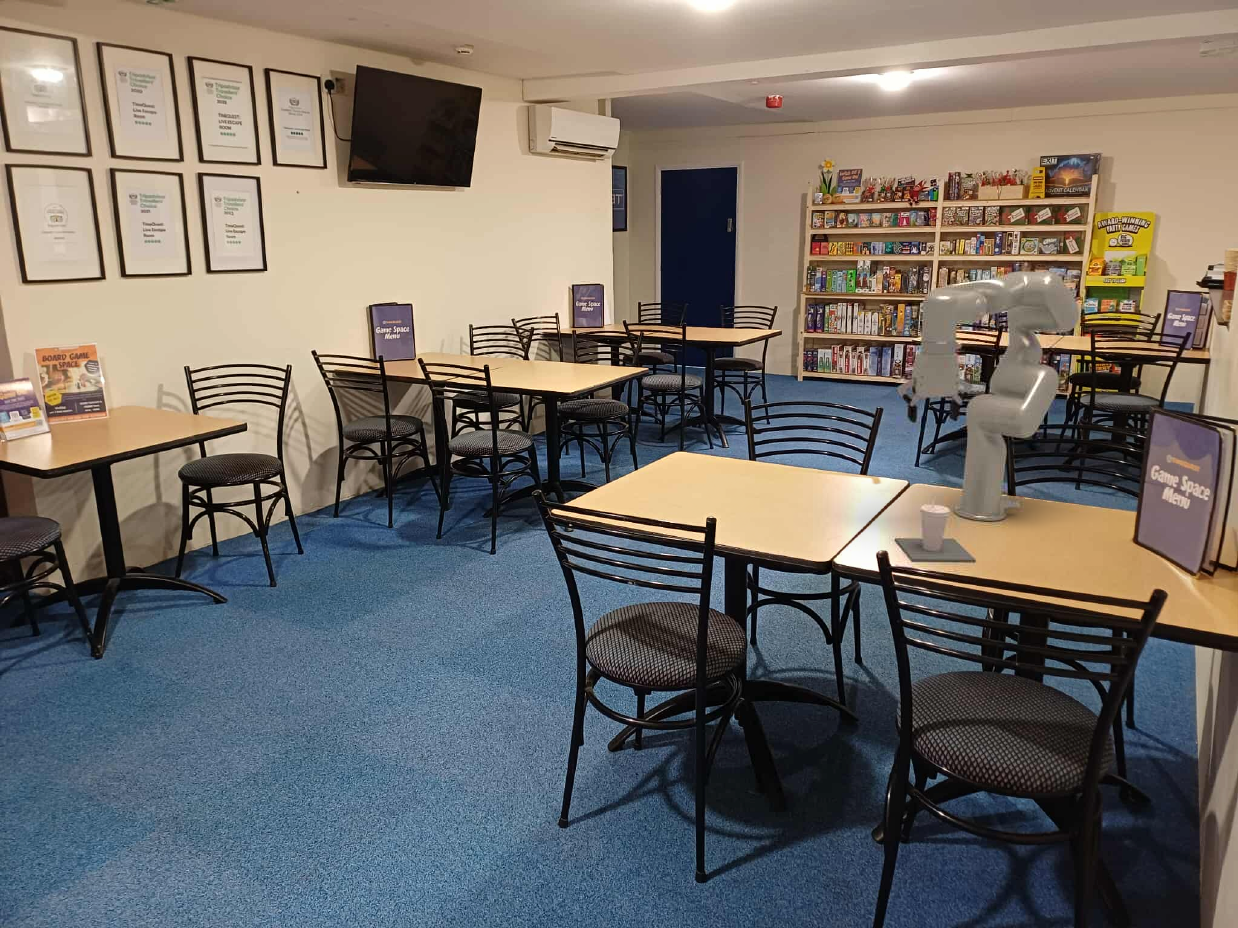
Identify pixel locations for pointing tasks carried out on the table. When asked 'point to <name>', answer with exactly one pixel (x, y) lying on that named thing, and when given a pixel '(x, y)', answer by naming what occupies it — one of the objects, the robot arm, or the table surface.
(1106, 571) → the table surface
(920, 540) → the coaster mat
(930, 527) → the white drink cup
